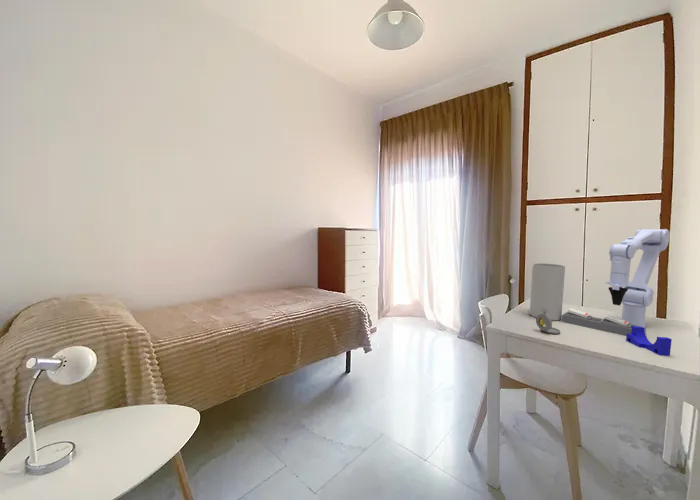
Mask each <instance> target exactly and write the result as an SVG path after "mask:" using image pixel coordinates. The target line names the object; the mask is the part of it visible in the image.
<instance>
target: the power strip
mask: <svg viewBox="0 0 700 500" xmlns="http://www.w3.org/2000/svg"><path fill="white" fill-rule="evenodd" d="M561 322H562V323H567V324H571V325H577V326H580V327H585V328H590V329H595V330H597V331H598V330H599V331H603V332H607V333H612V334H617V335H622V336H625V337H626V335H627V334H631V331H632V326H637V325H632V324H631V323H629V324H628V325H627V326H625V325H621V324H618V323H616V324H615V323H614V322H613V321H610V320H607V319H605V317H604V318H602V317H601V318H600V317H595V316H593V315H589V317H588V318H585V317H582V316H576V314H573V313H570V312H568V311H566V312H564V313H562V317H561ZM638 327H642V326H638ZM643 328H645V335H646V336H647V326H645V327H643Z"/></svg>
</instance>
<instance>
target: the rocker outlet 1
mask: <svg viewBox="0 0 700 500" xmlns="http://www.w3.org/2000/svg"><path fill="white" fill-rule="evenodd" d="M567 312H570V313H573V314H576V316H582V317H585V318H588V317H589V315H590V313H587V312H584V311H582V310H578V309H575V308H572V307H570V308H568V309H567ZM590 316H591V315H590Z"/></svg>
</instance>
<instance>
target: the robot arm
mask: <svg viewBox="0 0 700 500" xmlns="http://www.w3.org/2000/svg"><path fill="white" fill-rule="evenodd" d="M670 240H671V232H670V231H669V230H668V229H667V228H663V229H660V228H658V229H655V228H653V229H652V228H644V229H642V228H638V229H637V230H635V233H634V236H628V237H627V238H626V239H624V240H623V241H622V242H619V243H614V244H613V245H611V246H609V247H610V248H609V251H608V254H609V261H610V263H611V265H610V274H609V281H605V284H607V285H610V286H608V290H609V293H610V296H611V301H612V305H613V306H614V305H615V306H621V304H622V311H621V319H622V320H625V321H628V322H629V323H631V324H632V325H637V326H642V327H647V322H646V312H647V311H646V310H647V307H649V306H651V305H652V303H653V301H654V294H655V292H654V290H653V288H652V287H650V285H648V284H649V281H650V279H651V276H652V274H653V271H654V268H655V265H656V264H657V260H658V258H659V255H660V253H661V252H663V251H665V250H666V249H667V247H668V245H669V243H670ZM639 250H641V251H643V252H642V255H641V258H640V259H639V263H638V265H637V268H636V270H635V273H634V275H633V277H632V279H631V280H632V281H630V280H629V279H630V272H631V271H630V270H631V262H632V259H633V258H634V256H635V255H636V253H637V251H639Z"/></svg>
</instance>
